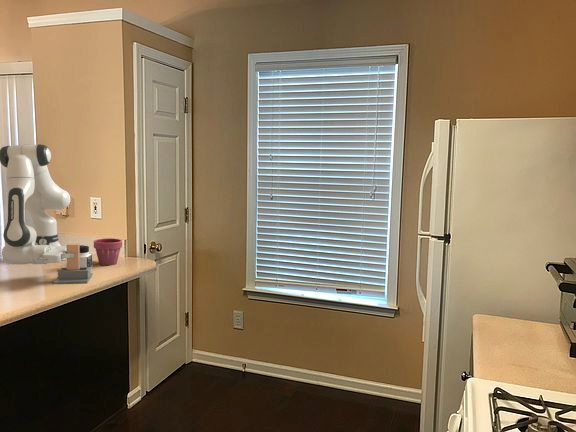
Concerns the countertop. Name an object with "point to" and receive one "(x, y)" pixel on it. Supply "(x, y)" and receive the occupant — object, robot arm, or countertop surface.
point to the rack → (73, 276)
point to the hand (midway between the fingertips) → (75, 254)
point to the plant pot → (107, 250)
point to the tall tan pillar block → (75, 261)
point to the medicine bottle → (85, 256)
